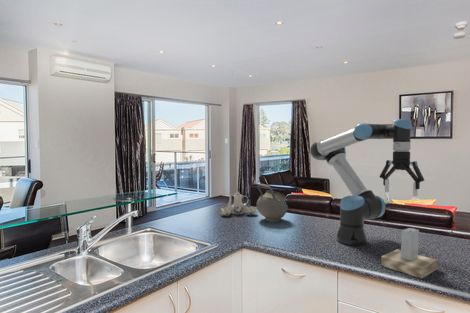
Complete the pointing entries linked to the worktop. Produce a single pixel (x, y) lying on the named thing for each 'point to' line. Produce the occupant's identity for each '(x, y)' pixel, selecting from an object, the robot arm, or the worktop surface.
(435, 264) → the base block
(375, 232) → the worktop surface
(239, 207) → the chinaware
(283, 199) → the pot
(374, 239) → the worktop surface
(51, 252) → the worktop surface
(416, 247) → the skincare box
